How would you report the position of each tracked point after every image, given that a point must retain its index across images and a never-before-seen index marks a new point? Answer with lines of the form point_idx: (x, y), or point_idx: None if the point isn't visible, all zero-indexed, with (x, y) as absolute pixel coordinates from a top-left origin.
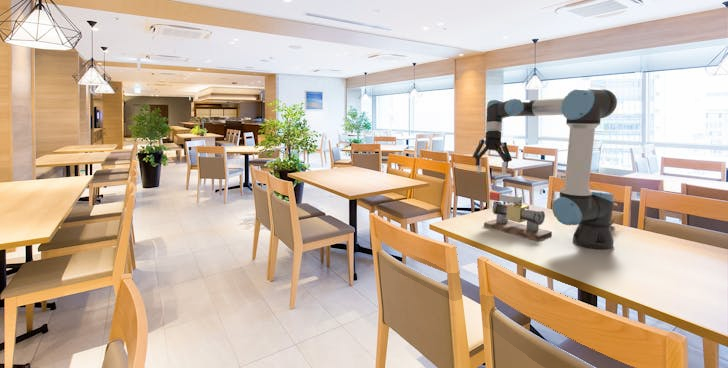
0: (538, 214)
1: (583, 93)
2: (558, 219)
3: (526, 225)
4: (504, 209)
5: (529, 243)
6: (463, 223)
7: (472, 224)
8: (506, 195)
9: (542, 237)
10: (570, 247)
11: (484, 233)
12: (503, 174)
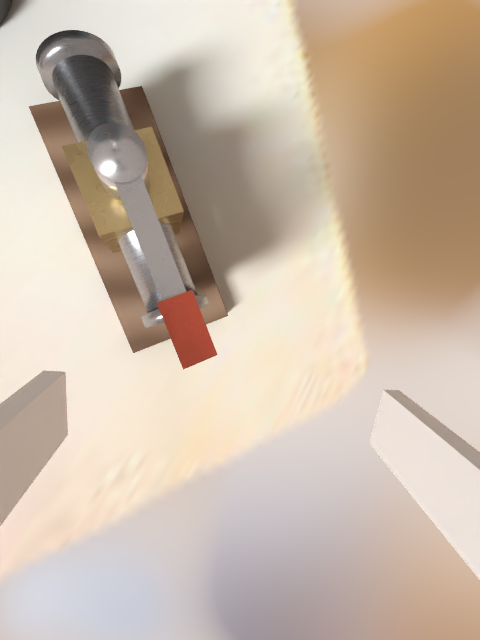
0: (101, 40)
1: None
2: None
3: (80, 221)
4: (178, 245)
5: (186, 94)
6: (274, 369)
7: (250, 349)
8: (163, 237)
9: None
10: None
11: (267, 242)
12: (63, 400)
